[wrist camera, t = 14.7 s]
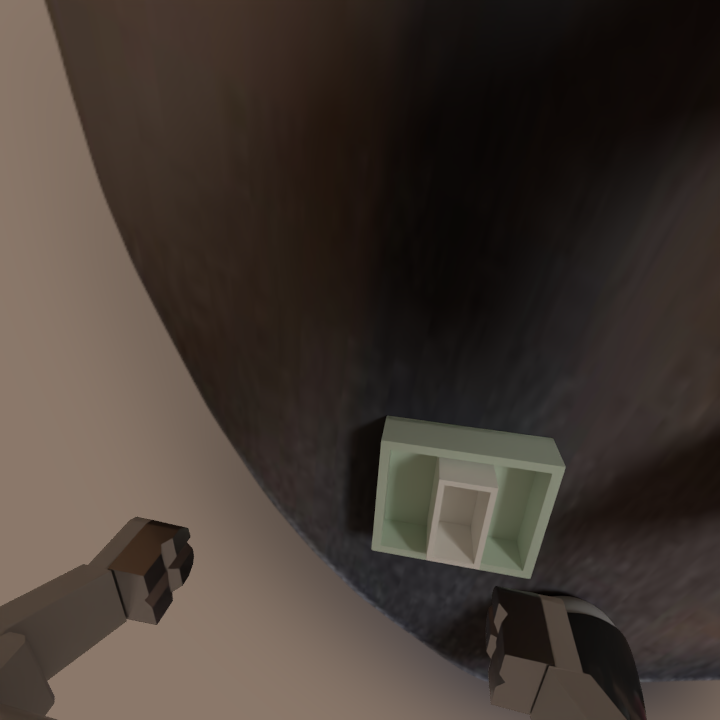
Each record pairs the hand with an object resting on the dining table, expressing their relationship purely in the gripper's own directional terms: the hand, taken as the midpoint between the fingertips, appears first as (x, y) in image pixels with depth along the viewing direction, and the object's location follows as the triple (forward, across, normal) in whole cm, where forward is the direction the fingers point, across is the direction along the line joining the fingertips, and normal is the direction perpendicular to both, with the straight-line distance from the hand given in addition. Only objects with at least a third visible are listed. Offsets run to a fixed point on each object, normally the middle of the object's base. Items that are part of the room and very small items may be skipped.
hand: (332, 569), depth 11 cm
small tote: (+25, -6, +17) cm, 31 cm away
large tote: (+25, -6, +17) cm, 31 cm away
